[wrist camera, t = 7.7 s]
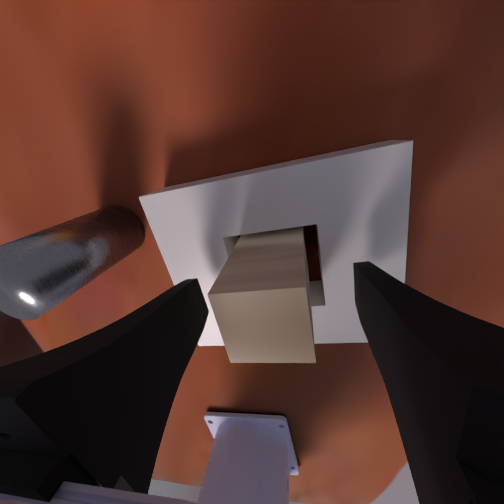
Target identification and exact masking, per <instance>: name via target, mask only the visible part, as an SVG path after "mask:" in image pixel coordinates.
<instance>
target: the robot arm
mask: <svg viewBox="0 0 504 504" xmlns="http://www.w3.org/2000/svg"><path fill="white" fill-rule="evenodd" d="M353 270H354V293H355V305H356V309H357V312H358V316H359V320H360V323H361V326H362V328H363V331H364V333H365V336H366V338H367V340H368V343H369V345H370V348H371V350H372V352H373V355H374V357H375V360H376V362H377V364H378V367H379V369H380V372H381V374H382V377H383V380H384V382H385V385H386V388H387V392H388V395H389V398H390V401H391V405H392V408H393V411H394V415H395V418H396V421H397V425H398V428H399V432H400V435H401V439H402V442H403V445H404V449H405V453H406V456H407V460H408V463H409V467H410V470H411V474H412V478H413V481H414V484H415V488H416V492H417V496H418V500H419V503H420V504H504V328H502V327H500V326H497V325H494V324H491V323H489V322H486V321H483V320H481V319H478V318H475V317H473V316H470V315H468V314H465V313H463V312H460V311H458V310H456V309H454V308H451V307H449V306H447V305H445V304H442V303H440V302H438V301H436V300H434V299H432V298H430V297H428V296H426V295H424V294H422V293H420V292H419V291H417V290H415V289H413V288H411V287H409V286H408V285H406V284H404V283H403V282H401V281H399V280H398V279H396V278H394V277H393V276H391V275H390V274H388V273H387V272H385V271H384V270H382V269H380V268H379V267H377V266H376V265H374V264H373V263H371V262H370V261H366V262H356V263H353ZM208 313H209V310H208V307H207V304H206V301H205V298H204V296H203V293H202V290H201V287H200V284H199V281H198V279H197V278H195V279H186V280H184V281H182V282H180V283H178V284H177V285H175V286H173V287H172V288H170V289H168V290H167V291H165V292H164V293H162V294H161V295H159V296H158V297H156V298H154V299H153V300H151V301H150V302H148V303H147V304H145V305H143V306H142V307H140V308H138V309H137V310H135V311H133V312H132V313H130V314H128V315H127V316H125V317H123V318H121V319H119V320H118V321H116V322H114V323H112V324H110V325H108V326H106V327H104V328H102V329H100V330H98V331H95V332H93V333H91V334H89V335H86V336H84V337H82V338H80V339H78V340H75V341H73V342H70V343H68V344H65V345H63V346H60V347H58V348H55V349H52V350H50V351H47V352H44V353H42V354H39V355H36V356H33V357H30V358H27V359H24V360H21V361H18V362H14V363H11V364H8V365H5V366H2V367H0V504H289V475H298V474H299V467H298V463H297V459H296V455H295V451H294V447H293V443H292V439H291V435H290V431H289V427H288V423H287V419H286V418H285V417H284V416H281V415H262V414H243V413H224V412H206V413H205V416H204V419H205V421H206V423H207V425H208V427H209V429H210V431H211V433H212V435H213V438H214V443H213V446H212V450H211V454H210V457H209V461H208V465H207V468H206V472H205V475H204V479H203V483H202V486H201V490H200V494H199V497H198V501H197V502H194V501H188V500H182V499H175V498H168V497H162V496H156V495H149V494H148V490H149V486H150V482H151V478H152V474H153V470H154V466H155V461H156V457H157V454H158V450H159V447H160V443H161V440H162V436H163V432H164V429H165V426H166V422H167V419H168V416H169V413H170V410H171V407H172V403H173V401H174V398H175V395H176V392H177V389H178V386H179V383H180V381H181V378H182V376H183V374H184V371H185V369H186V367H187V365H188V363H189V360H190V358H191V356H192V354H193V352H194V350H195V348H196V346H197V343H198V341H199V339H200V337H201V335H202V332H203V330H204V327H205V324H206V321H207V317H208Z"/></svg>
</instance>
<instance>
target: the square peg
mask: <svg viewBox="0 0 504 504" xmlns="http://www.w3.org/2000/svg"><path fill="white" fill-rule="evenodd" d="M207 295H208V298H209V301H210V304H211V307H212V310H213V313H214V316H215V319H216V322H217V325H218V327H219V330H220V333H221V336H222V339H223V342H224V345H225V348H226V351H227V354H228V357H229V360H230V363H316V356H315V343H314V331H313V319H312V307H311V295H310V282H309V270H308V261H307V253H306V245H305V237H304V229H303V226H300V227H293V228H286V229H279V230H272V231H265V232H258V233H251V234H244V235H241V236H240V238H239V240H238V242H237V243H236V245H235V247H234V249H233V250H232V252H231V254H230V256H229V257H228V259H227V261H226V263H225V264H224V266H223V268H222V270H221V271H220V273H219V275H218V277H217V278H216V280H215V282H214V284H213V285H212V287H211V289H210V291H209V292H208V294H207Z"/></svg>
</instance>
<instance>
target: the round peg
mask: <svg viewBox="0 0 504 504" xmlns="http://www.w3.org/2000/svg"><path fill="white" fill-rule="evenodd" d="M144 238H145V231H144V227H143V225H142V223H141V221H140V219H139V218H138V217H137V216H136V214H135V213H133V212H132V211H131V210H129V209H128V208H126V207H124V206H120V205H110V206H107V207H105V208H102V209H99V210H96V211H94V212H91V213H88V214H86V215H83V216H80V217H77V218H75V219H72V220H69V221H66V222H64V223H61V224H58V225H55V226H53V227H50V228H47V229H44V230H42V231H39V232H36V233H34V234H31V235H28V236H25V237H23V238H20V239H17V240H14V241H12V242H9V243H6V244H3V245H1V246H0V310H1V311H2V312H4V313H6V314H8V315H10V316H12V317H15V318H18V319H22V320H34V319H37V318H39V317H40V316H42V315H43V314H45V313H46V312H47V311H49V310H50V309H52V308H53V307H55V306H56V305H57V304H59V303H60V302H62V301H63V300H65V299H66V298H67V297H69V296H70V295H72V294H73V293H75V292H76V291H77V290H79V289H80V288H82V287H83V286H85V285H86V284H88V283H89V282H90V281H92V280H93V279H95V278H96V277H98V276H99V275H100V274H102V273H103V272H105V271H106V270H108V269H109V268H110V267H112V266H113V265H115V264H116V263H118V262H119V261H121V260H122V259H123V258H125V257H126V256H128V255H129V254H131V253H132V252H133V251H135V250H136V249H138V248H139V247H140V246H141V245H142V244H143V242H144Z"/></svg>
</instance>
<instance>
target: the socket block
mask: <svg viewBox="0 0 504 504" xmlns="http://www.w3.org/2000/svg"><path fill="white" fill-rule="evenodd" d="M412 153H413V141H407V140H387V141H382V142H377V143H373V144H368V145H363V146H358V147H354V148H349V149H344V150H339V151H335V152H330V153H325V154H320V155H316V156H311V157H306V158H301V159H297V160H292V161H287V162H282V163H278V164H273V165H268V166H263V167H259V168H254V169H249V170H244V171H240V172H235V173H230V174H225V175H221V176H216V177H211V178H206V179H202V180H197V181H192V182H187V183H183V184H178V185H173V186H168V187H164V188H161V189H158V190H156V191H153V192H151V193H148V194H145V195H143V196H140V197H139V200H140V202H141V205H142V207H143V210H144V212H145V215H146V217H147V220H148V222H149V224H150V227H151V229H152V232H153V234H154V237H155V239H156V242H157V244H158V247H159V249H160V252H161V254H162V256H163V259H164V261H165V264H166V266H167V269H168V271H169V274H170V276H171V279H172V281H173V284H174V286H175V285H177V284H178V283H180V282H182V281H184V280H186V279H195V278H197V279H198V281H199V284H200V287H201V290H202V293H203V296H204V298H205V301H206V304H207V307H208V310H209V313H208V317H207V321H206V324H205V327H204V330H203V332H202V335H201V337H200V339H199V341H198V345H199V346H225V345H224V342H223V339H222V336H221V333H220V330H219V327H218V325H217V322H216V319H215V316H214V313H213V310H212V307H211V304H210V301H209V298H208V295H207V294H208V292H209V291H210V289H211V287H212V285H213V284H214V282H215V280H216V278H217V277H218V275H219V273H220V271H221V270H222V268H223V266H224V264H225V263H226V261H227V259H228V257H229V256H230V254H231V252H232V250H233V249H234V247H235V245H236V243H237V242H238V240H239V238H238V235H244V234H251V233H258V232H265V231H272V230H279V229H286V228H293V227H300V226H307V225H314V224H315V225H316V234H317V243H318V253H319V262H320V271H321V280H318V281H309V282H310V295H311V307H312V319H313V331H314V343H315V344H319V343H365V342H368V340H367V338H366V336H365V333H364V331H363V328H362V326H361V323H360V320H359V316H358V312H357V309H356V305H355V293H354V270H353V263H356V262H366V261H370V262H371V263H373V264H374V265H376V266H377V267H379V268H380V269H382V270H384V271H385V272H387V273H388V274H390V275H391V276H393V277H394V278H396V279H398V280H399V281H401V282H403V283H404V284H405V272H406V255H407V238H408V221H409V204H410V187H411V170H412Z"/></svg>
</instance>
